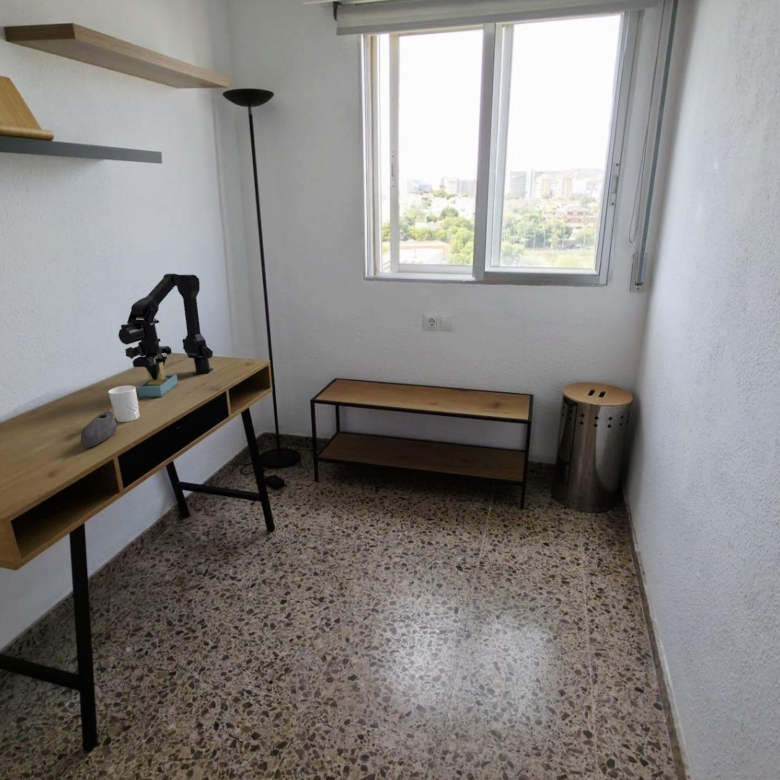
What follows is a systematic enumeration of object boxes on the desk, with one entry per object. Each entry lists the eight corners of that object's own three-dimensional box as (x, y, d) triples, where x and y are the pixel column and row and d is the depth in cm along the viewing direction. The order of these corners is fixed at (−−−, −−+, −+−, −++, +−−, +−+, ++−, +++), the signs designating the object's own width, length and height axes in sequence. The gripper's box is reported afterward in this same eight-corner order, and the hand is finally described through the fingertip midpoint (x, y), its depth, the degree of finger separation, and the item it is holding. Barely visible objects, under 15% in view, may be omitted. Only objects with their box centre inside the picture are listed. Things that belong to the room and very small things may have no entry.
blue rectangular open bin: (157, 385, 203) (155, 375, 202) (178, 384, 203) (176, 374, 202) (139, 397, 190) (137, 387, 189) (161, 397, 190) (159, 386, 188)
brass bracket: (155, 381, 199) (151, 361, 196) (168, 380, 198) (164, 360, 196) (148, 386, 193) (143, 365, 190) (161, 386, 193) (157, 365, 190)
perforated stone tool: (92, 452, 147) (87, 429, 145) (75, 452, 148) (69, 429, 146) (124, 430, 161) (119, 409, 159) (108, 430, 162) (103, 409, 160)
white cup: (131, 423, 167) (124, 393, 163) (109, 422, 168) (102, 393, 165) (146, 414, 174) (140, 385, 171) (125, 413, 175) (119, 385, 172)
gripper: (139, 332, 199) (147, 371, 204) (113, 344, 181) (123, 387, 187) (168, 331, 199) (175, 370, 204) (144, 343, 181) (153, 386, 186)
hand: (157, 378), depth 195 cm, fingers closed on brass bracket, 3 cm apart
